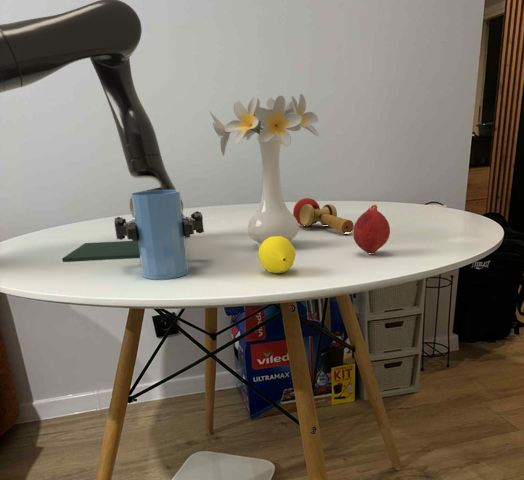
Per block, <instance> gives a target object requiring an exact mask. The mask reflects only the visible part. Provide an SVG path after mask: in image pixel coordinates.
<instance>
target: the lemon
mask: <svg viewBox="0 0 524 480" xmlns="http://www.w3.org/2000/svg"><path fill="white" fill-rule="evenodd" d="M295 249H296V248H295V247H294V245H293V243H291V240H290V241H289V240H288V239H286V238H284V237H282V236H272V237H269V238H267V239H265V240H264V241H263V243H262V244H261V246H260V247H259V248H258V252H257V257H258V260H259V263H260V265H261V267H262V268H263V269H265V270H266V271H267V272H270V273H274V274H282V273H285V272H286V271H288V270H290V268H291V267H292V266H293V265H294V262H295V258H296V250H295Z"/></svg>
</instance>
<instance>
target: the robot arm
mask: <svg viewBox="0 0 524 480" xmlns="http://www.w3.org/2000/svg"><path fill="white" fill-rule="evenodd" d="M142 31H143V30H142V22H141V19H140V17H139V15H138V13H137V12H136V11H135V9H133V7H132V6H131V5H129V4H128V3H126V2H124V1H122V0H96V1H94V2H91V3H88V4H86V5H82V6H79V7H76V8H74V9H71V10H69V11H66V12H62V13H58V14H54V15H53V14H52V15H48V16H41V17H35V18H28V19H25V20H18V21H14V22H9V23H2V24H0V93H5V92H8V91H13V90H16V89H20V88H25V87H27V86H30V85H32V84H34V83H37V82H39V81H41V80H43V79H45V78H47V77H49V76H51V75H52V74H55V73H56V72H58V71H59V70H61V69H63V68H65V67H66V66H69V65H71V64H73V63H76V62H79V61H82V60H85V59H89V60H90V63H91V64H92V67H93V69H94V71H95V73H96V75H97V77H98V79H99V83H100V85H101V87H102V89H103V93H104V95H105V98H106V101H107V103H108V105H109V108H110V111H111V115H112V118H113V120H114V123H115V126H116V131H117V133H118V137H119V142H120V145H121V149H122V153H123V156H124V160H125V163H126V167H127V170H128V173H129V174H130V176H131V177H132V178H134V179H150V180H151V179H152V180H153V181H155V182H157V183H158V184H159V187H154V188H151V189H145V190H141V191H139V192H143V191H153V190H177V188H176V186H175V185H174V183H173V181H172V180H171V178H170V175H169V174H168V172H167V169H166V166H165V164H164V160H163V157H162V153H161V149H160V145H159V141H158V138H157V135H156V131H155V129H154V126H153V123H152V121H151V119H150V116H149V115H148V113H147V112H146V110H145V108H144V106H143V104H142V102H141V100H140V98H139V96H138V93H137V90H136V87H135V84H134V80H133V75H132V68H131V59H130V57H132V55H133V54H134V52H135V51H136V50H137V48H138V46H139V45H140V41H141V39H142V33H143V32H142ZM181 206H182V215H183V226H184V236H185V239H189V238H191V235H194V234H195V233H196V234H202V233H204V232H205V229H204V220H203V219H204V218H203V214H202V212H201V211H198V210H196V211H193V212H191V213H190V216H185V215H184V202H183V200H182V198H181ZM129 210H130V215H131V217H132V220H128V221H127V220H126V219H127V218H124V217H121V216H116V217H115V218H114V230H115V235H116V240H119V241H123V240H124V239H127V240H131V241H133V242H138V238H137V231H136V224H135V217H134V210H133V203H132V196H131V195H130V199H129Z"/></svg>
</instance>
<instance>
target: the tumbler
mask: <svg viewBox="0 0 524 480" xmlns="http://www.w3.org/2000/svg"><path fill="white" fill-rule="evenodd" d="M142 191H143V192H140V191H137V192H132V193H131V194H130V197H131V196H132V203H133V210H134V217H135V224H136V231H137V238H138V246H139V253H140V258H139V261H140V266H141V272H142V277H143V278H145V279H147V280H155V281H156V280H158V281H159V280H160V281H161V280H162V281H163V280H171V279H177V278H180V277H184V276H186V275H187V274H188V273H189V265H188V256H187V255H188V254H187V245H186V238H185V236H184V226H183V215H184V214H183V215H182V206H181V199H182V197H181V190H178V189H176V190H153V191H146V190H145V191H144V190H142Z"/></svg>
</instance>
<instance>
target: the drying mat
mask: <svg viewBox="0 0 524 480" xmlns="http://www.w3.org/2000/svg"><path fill="white" fill-rule="evenodd" d="M119 259H140V253H139V246H138V242H133V241H132V240H119V241H118V240H117V241H99V242H85V243H83V244H81V245H79V247H77V248H76V249H74V250H72V251H71V252H70V253H68V254H66V255H65V256H63V257H62V262H79V261H81V262H83V261H98V260H100V261H101V260H102V261H103V260H119Z"/></svg>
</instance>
